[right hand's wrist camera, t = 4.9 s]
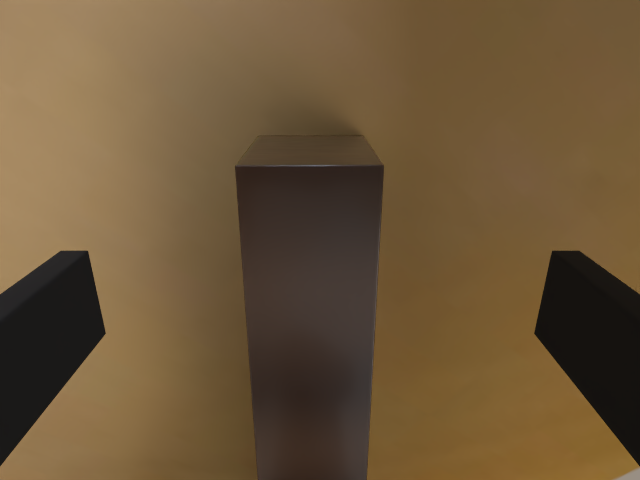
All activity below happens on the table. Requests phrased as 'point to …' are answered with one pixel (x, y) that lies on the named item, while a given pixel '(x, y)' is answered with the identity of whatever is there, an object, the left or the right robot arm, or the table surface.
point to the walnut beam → (310, 300)
